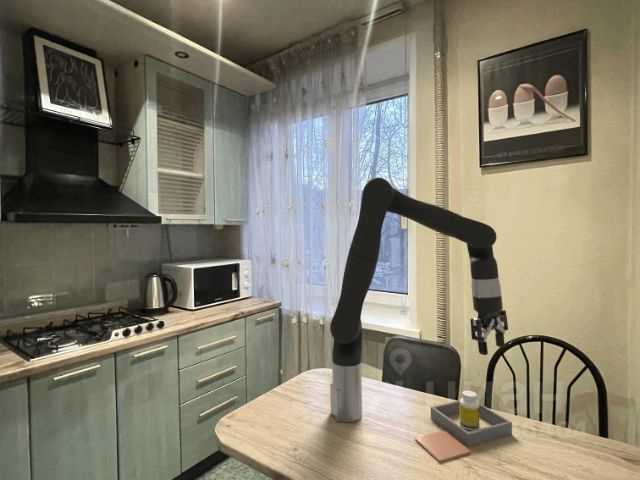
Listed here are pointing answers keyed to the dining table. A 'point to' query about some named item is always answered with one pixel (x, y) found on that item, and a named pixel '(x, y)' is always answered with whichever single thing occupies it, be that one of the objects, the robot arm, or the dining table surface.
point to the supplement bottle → (469, 411)
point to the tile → (442, 446)
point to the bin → (475, 437)
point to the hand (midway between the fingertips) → (492, 350)
